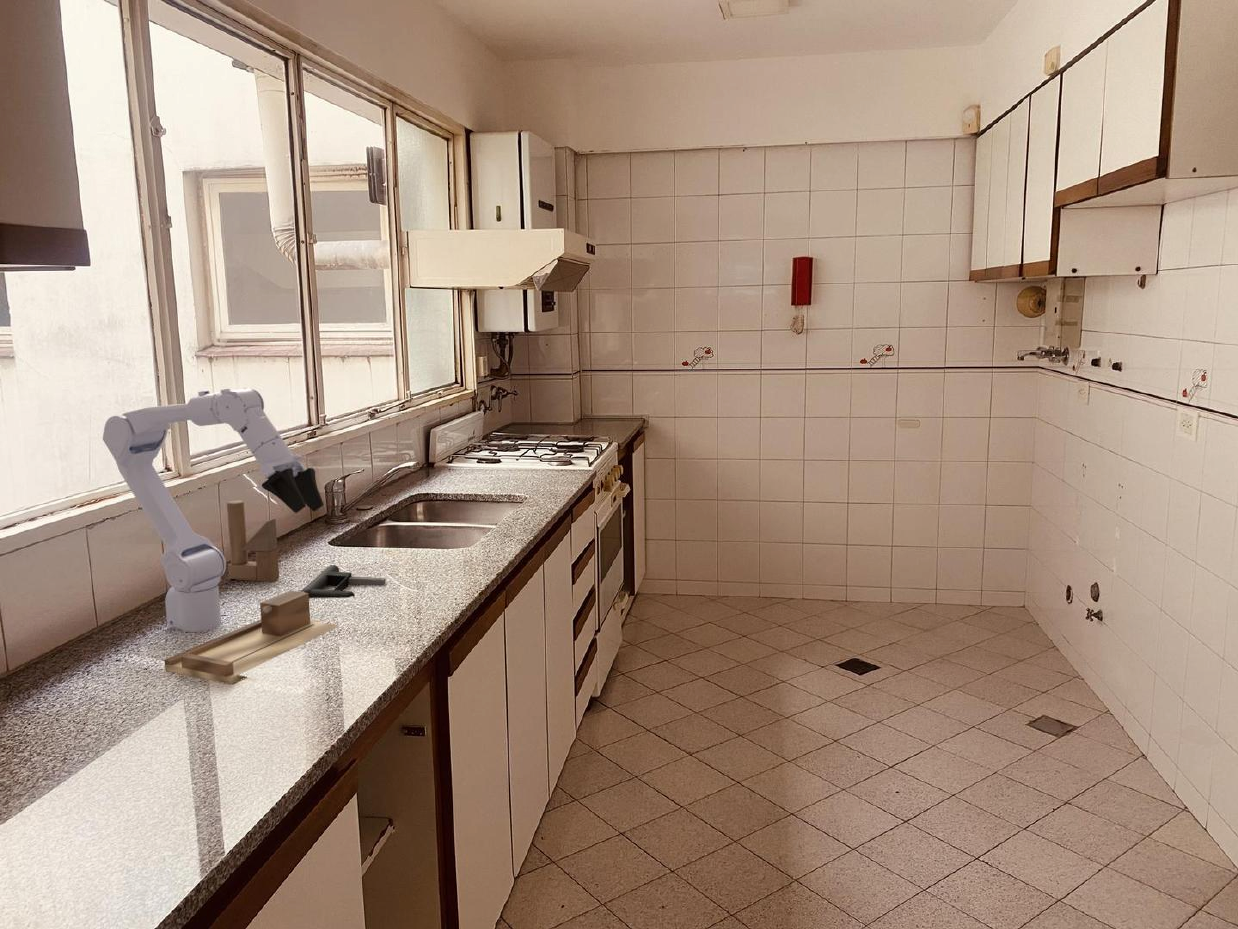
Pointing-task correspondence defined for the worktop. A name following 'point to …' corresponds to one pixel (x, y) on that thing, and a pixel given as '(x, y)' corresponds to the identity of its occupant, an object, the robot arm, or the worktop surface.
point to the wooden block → (251, 547)
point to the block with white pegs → (285, 613)
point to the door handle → (337, 583)
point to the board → (240, 651)
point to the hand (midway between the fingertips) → (310, 509)
